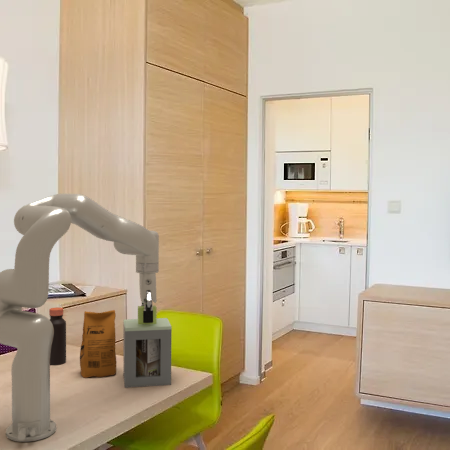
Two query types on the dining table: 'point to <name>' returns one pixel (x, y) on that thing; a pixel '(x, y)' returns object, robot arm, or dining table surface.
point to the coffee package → (98, 344)
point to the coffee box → (148, 357)
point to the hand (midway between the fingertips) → (147, 319)
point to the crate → (130, 358)
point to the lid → (140, 326)
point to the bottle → (58, 337)
